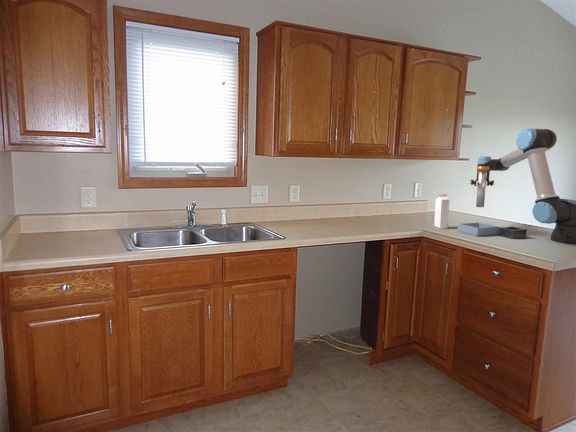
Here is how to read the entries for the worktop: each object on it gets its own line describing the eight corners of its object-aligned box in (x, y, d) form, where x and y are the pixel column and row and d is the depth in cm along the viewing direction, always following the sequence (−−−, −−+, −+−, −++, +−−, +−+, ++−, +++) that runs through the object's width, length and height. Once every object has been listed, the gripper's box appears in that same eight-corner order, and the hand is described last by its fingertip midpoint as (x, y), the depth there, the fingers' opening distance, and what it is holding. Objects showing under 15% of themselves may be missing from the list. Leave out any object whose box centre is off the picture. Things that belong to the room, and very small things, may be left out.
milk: (447, 228, 270) (450, 194, 267) (439, 229, 268) (442, 194, 265) (441, 226, 276) (443, 193, 272) (433, 227, 274) (435, 193, 270)
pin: (488, 207, 250) (491, 166, 246) (479, 207, 248) (482, 166, 244) (480, 205, 256) (483, 166, 252) (471, 206, 254) (474, 166, 250)
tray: (498, 234, 250) (499, 226, 249) (477, 236, 244) (477, 228, 244) (477, 230, 265) (478, 222, 264) (457, 231, 259) (458, 223, 258)
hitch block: (526, 237, 241) (526, 229, 240) (512, 239, 238) (513, 230, 237) (511, 234, 251) (512, 226, 250) (498, 235, 247) (499, 227, 246)
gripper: (497, 187, 263) (497, 191, 242) (467, 186, 270) (464, 189, 249) (498, 175, 262) (498, 178, 241) (467, 175, 269) (465, 177, 248)
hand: (481, 184), depth 245 cm, fingers closed on pin, 4 cm apart
